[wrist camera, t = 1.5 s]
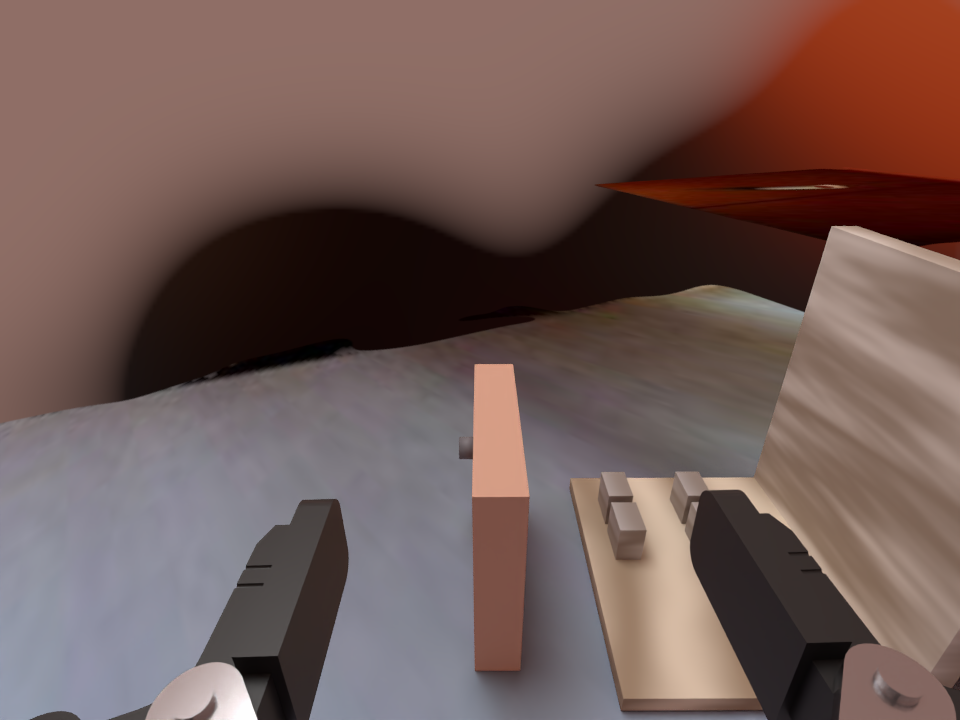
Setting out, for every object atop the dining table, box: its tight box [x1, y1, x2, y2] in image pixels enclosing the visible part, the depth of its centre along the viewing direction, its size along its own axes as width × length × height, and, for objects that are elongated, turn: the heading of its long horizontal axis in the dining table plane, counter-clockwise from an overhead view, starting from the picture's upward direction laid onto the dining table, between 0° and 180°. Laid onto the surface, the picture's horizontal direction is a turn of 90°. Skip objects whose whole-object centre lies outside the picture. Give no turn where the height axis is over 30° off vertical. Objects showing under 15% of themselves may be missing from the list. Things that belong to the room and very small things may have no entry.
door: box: [459, 364, 529, 671], centre depth 29 cm, size 3×12×12 cm, turn 0°
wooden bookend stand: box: [570, 226, 960, 711], centre depth 27 cm, size 16×16×20 cm
